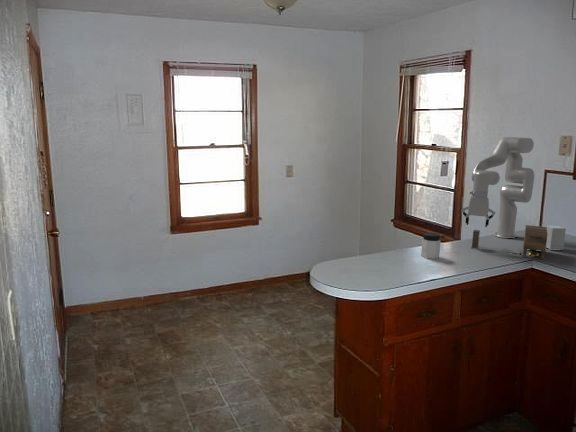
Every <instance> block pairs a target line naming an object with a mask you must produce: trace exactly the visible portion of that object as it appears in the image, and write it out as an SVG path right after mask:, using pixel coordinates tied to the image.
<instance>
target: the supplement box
mask: <svg viewBox="0 0 576 432" xmlns="http://www.w3.org/2000/svg"><path fill="white" fill-rule="evenodd" d="M545 227H547V233H548V235H547V243H546V247H547V248H549V249H557V250H558V249H560V250H563V251H564V247H565V246H564V245H565V238H566V232H567V231H566V228H565V227H562V226H561V225H545Z"/></svg>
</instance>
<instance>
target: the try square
mask: <svg viewBox="0 0 576 432" xmlns="http://www.w3.org/2000/svg"><path fill="white" fill-rule="evenodd" d="M480 234H481V230H480V229H479V230H477V229H473V232H472V242H471V245H470V249H472V250H479V251H487V252H494V253H495V252H496V253H501V254H502V253H503V254H509V253H512V254H511V255H517V254H519V255H518V256H520V255H521V254H520V253H521V251H520V250H513V249H506V248H505V249H504V248H498V247H497V248H496V247H489V246H481V245H479V243H480V236H481V235H480Z"/></svg>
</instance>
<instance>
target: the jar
mask: <svg viewBox="0 0 576 432" xmlns="http://www.w3.org/2000/svg"><path fill="white" fill-rule="evenodd" d="M422 236H423V238H422V241H421V250H420V251H421V253H420V256H421V257H422V258H425V259H426V258H429V260H436V259H439V258H440V253H441V234H440V233H437V232H430V231H429V232H424V233H423V235H422Z"/></svg>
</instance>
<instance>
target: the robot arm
mask: <svg viewBox="0 0 576 432" xmlns="http://www.w3.org/2000/svg"><path fill="white" fill-rule="evenodd" d="M534 147H535V146H534V140H533V139H532V138H531V137H518V136H509V137H508V136H507V137H506V136H505V137H501V138H500V139H499V140H498V142H497V143H496V145H495V147H494V148H493V150H492V153H491V155H489V156H487V157H485V158H484V159H482V160H480V161H479V162H478V163H477V164H476V165H475V168H474V169H473V170H472V173H471V180H472V182H473V188H472V191H470V192H469V195H471V196H470V197H469V201H468V206H466V207H464V208H461V212H462V215H463V216H464V217H465V224H466V226H468V225H469V221H470V216H475V217H476V216H477V217H485V226H484V227H485V228H487V227H488V226H489V222H490V220H491V219H492V218H493V217H494V216H495V215H496V211H494V210H493V209H491V208H490V199H489V197H488V194H489V193H488V192H489V185H490V186H495V185H497V184H498V183H499V182H500V179H501V176H500V174H499V172H497V171H493V170H489V169H491V168H495V167H498V166H500V167H501V166H503V165H504V164H505V163H506V164H505V173H504V180H505V181H506V183H513V184H505V185H502V186H501V187H500V189H499V199H500V200H499V201H500V202H499V204H500V205H499V214H498V222H497V223H498V225H497V232H495V233H494V234H493V235H494V236H495V237H496V238H497V237H498V238H501V239H507V238H513V239H516V238H515V237H517V238H518V236H517V234H515V230H516V223H517V222H516V221H517V214H518V212H517V211H518V207H517V204H516V203H515V202H517V203H523V204H524V203H525V204H527V203H529V202H530V201H532V196H533V189H534V184H535V171H534V170H533V169H532V168H530V167H523V160H524V158H523V156H522V154H528V153H530V152H532V150H533V149H534ZM514 184H515V185H514ZM516 184H519V185H516ZM520 184H521V185H520ZM466 210H467V213H466ZM489 213H491V215H489Z"/></svg>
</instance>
